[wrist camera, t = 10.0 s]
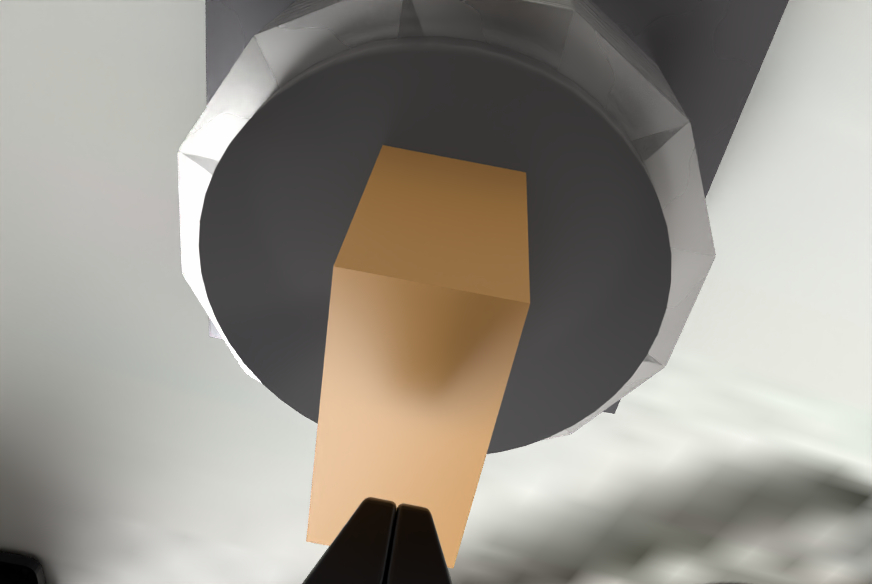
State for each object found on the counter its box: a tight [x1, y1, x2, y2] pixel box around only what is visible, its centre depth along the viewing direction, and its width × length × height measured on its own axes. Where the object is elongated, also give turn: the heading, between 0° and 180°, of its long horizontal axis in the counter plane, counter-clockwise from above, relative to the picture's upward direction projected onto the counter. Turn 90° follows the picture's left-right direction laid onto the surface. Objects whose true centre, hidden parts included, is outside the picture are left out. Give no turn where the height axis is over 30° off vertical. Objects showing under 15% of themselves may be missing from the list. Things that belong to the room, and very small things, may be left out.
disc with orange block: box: [198, 36, 672, 568], centre depth 13 cm, size 9×9×7 cm
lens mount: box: [177, 0, 789, 440], centre depth 17 cm, size 12×12×5 cm
